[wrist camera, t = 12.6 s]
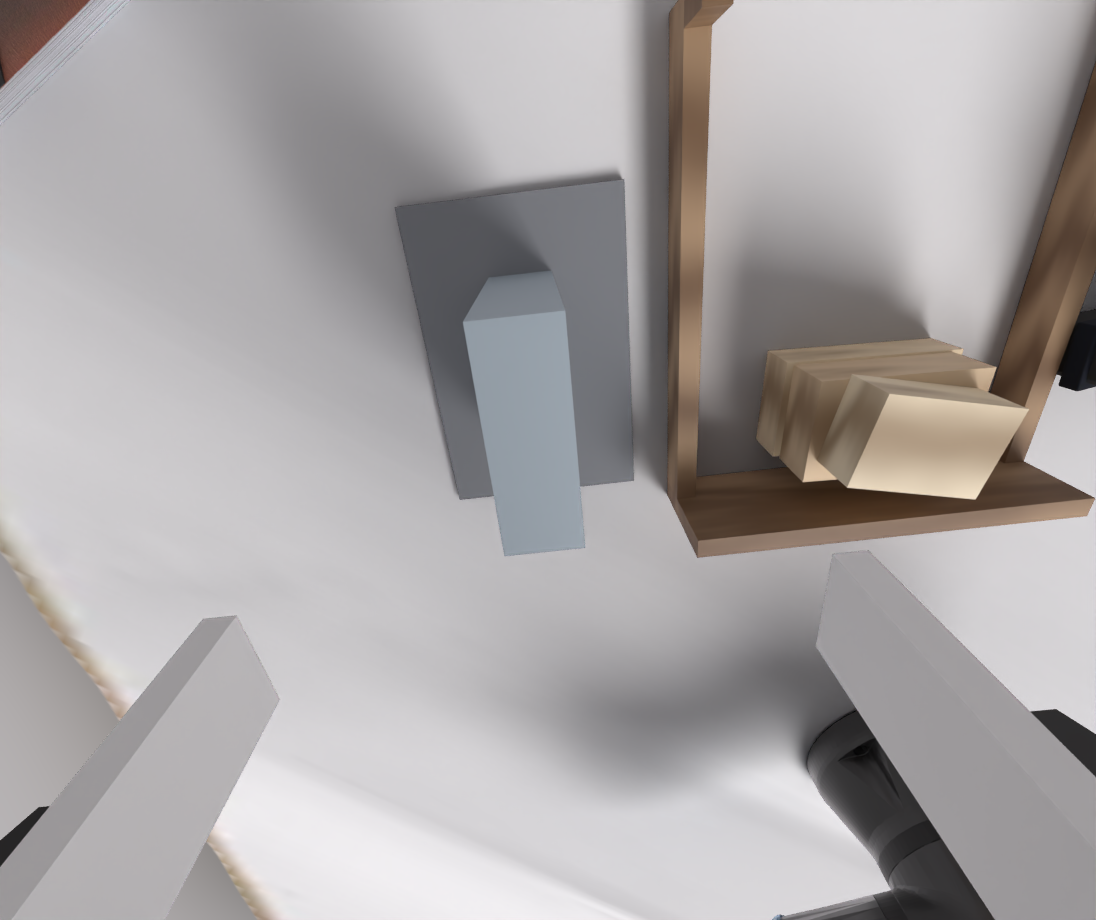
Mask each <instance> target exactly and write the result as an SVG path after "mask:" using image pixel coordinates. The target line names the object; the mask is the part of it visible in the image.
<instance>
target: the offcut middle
mask: <svg viewBox="0 0 1096 920" xmlns="http://www.w3.org/2000/svg"><path fill="white" fill-rule="evenodd" d="M996 368H997V367H995V366H992V365H989V364H986V363H983V362H980V361H977V360H975V359H972V358H969V357H966V356H963V355H960V354H957V353H954V352H944V353H932V354H920V355H908V356H896V357H883V358H871V359H859V360H847V361H835V362H822V363H810V364H798V365H794V369H793V375H792V381H791V388H790V394H789V400H788V407H787V413H786V419H785V426H784V432H783V438H782V445H781V451H780V457H779V459H780V460H781V461H782V462H783V463H784V464H785V465H786V466H787V467H788V468H789V469H790V470H791V471H792V472H793V473H794V474H795V475H796V476H797V477H798V478H799V479H800V480H801V481H802V482H812V481H824V480H837V478H836V477H835V476H833V475H832V474H831V473H830V472H829V471H828V470H827V469H826V468H825V467H823V466H822V465H821V464H820V463H819V462H818V461H817V459H818V456H819V454H820V451H821V449H822V446H823V444H824V441H825V439H826V437H827V434H828V432H829V429H830V427H831V424H832V422H833V420H834V417H835V415H836V412H837V410H838V407H839V405H840V402H841V400H842V398H843V395H844V393H845V390H846V388H847V385H848V383H849V381H850V378H851V375H852V374H855V375H864V376H873V377H881V378H890V379H900V380H909V381H918V382H926V383H935V384H944V385H953V386H962V387H971V388H979V389H981V390H984V391H986V392H988V391H989V388H990V385H991V382H992V379H993V376H994V374H995V371H996Z"/></svg>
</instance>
